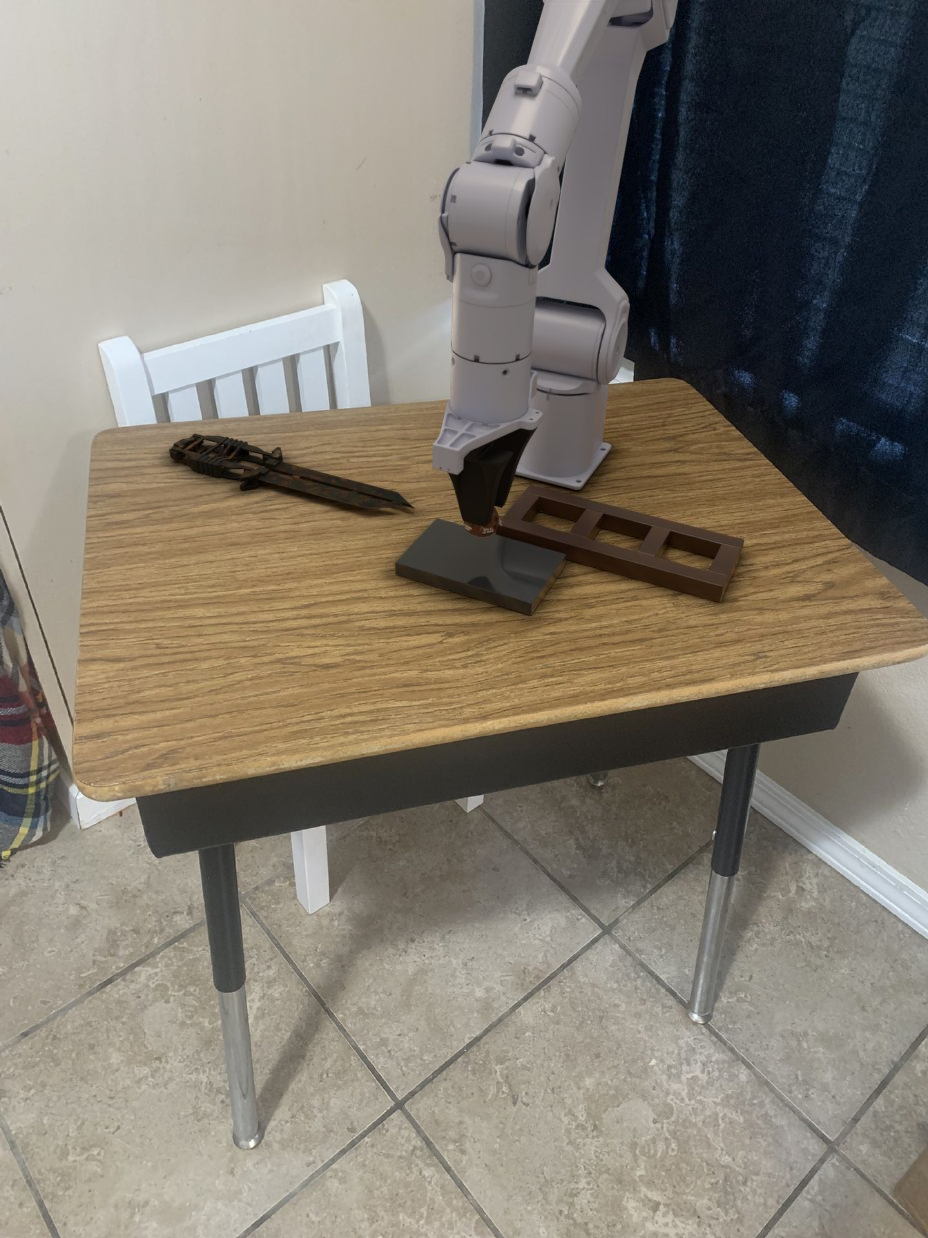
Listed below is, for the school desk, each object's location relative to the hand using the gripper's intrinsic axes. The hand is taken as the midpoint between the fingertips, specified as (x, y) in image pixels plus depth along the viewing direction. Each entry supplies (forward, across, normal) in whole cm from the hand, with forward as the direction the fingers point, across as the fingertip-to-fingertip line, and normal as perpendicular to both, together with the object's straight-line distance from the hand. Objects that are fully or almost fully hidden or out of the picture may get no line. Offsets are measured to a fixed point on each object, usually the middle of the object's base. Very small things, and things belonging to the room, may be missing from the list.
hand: (483, 512), depth 77 cm
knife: (+6, +5, +22) cm, 23 cm away
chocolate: (+2, 0, 0) cm, 2 cm away
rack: (+6, +8, -9) cm, 14 cm away
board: (+6, 0, 0) cm, 6 cm away
